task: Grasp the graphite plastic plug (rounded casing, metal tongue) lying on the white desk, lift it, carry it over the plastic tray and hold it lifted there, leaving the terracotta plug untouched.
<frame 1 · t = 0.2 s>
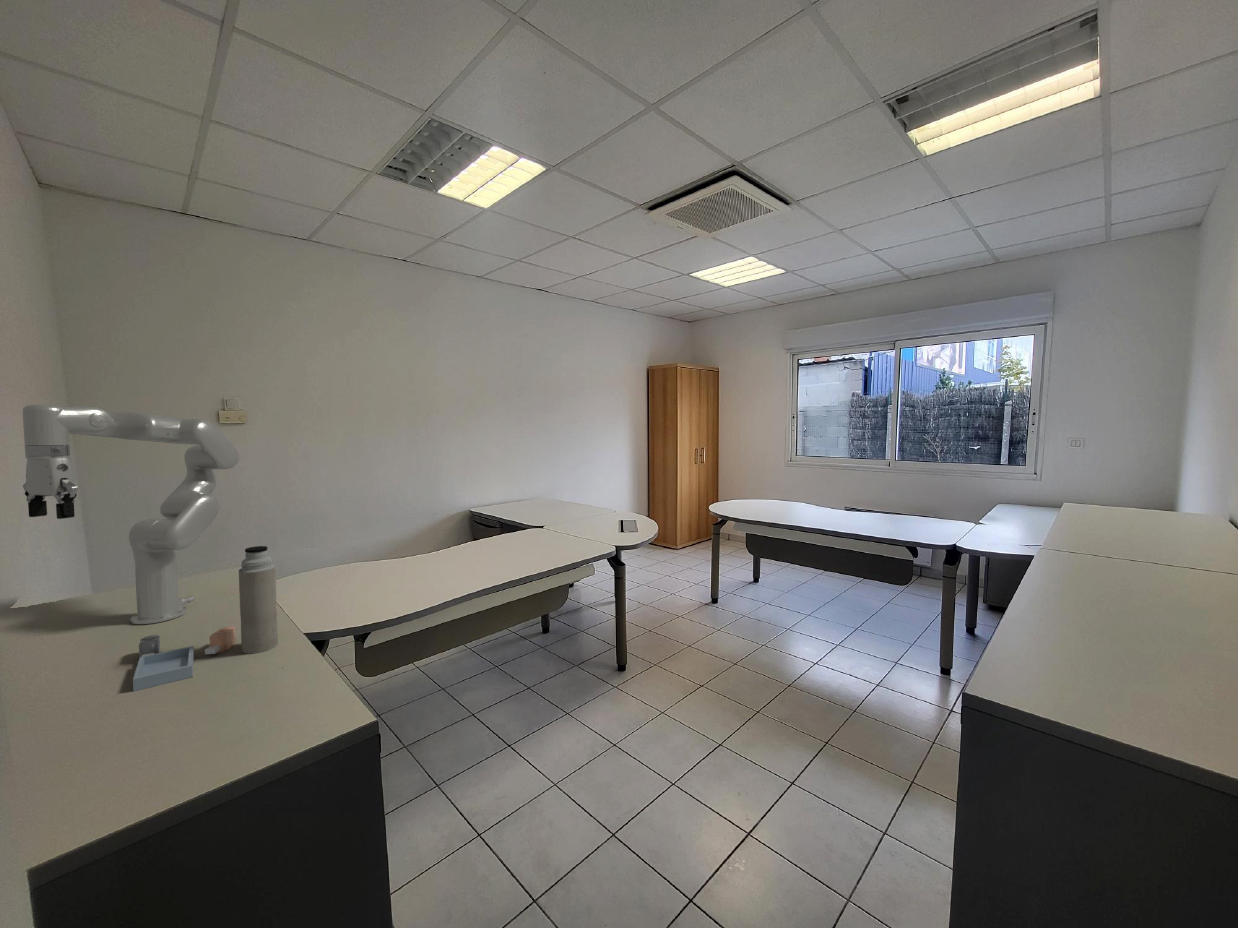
hand: (51, 517, 124), 36 cm above the table, tool pointing down, fingers open, 9 cm apart
graphite plug: (150, 656, 124), on the table
thermos bottle: (260, 647, 130), on the table
tray: (166, 672, 116), on the table
terracotta plug: (223, 647, 130), on the table
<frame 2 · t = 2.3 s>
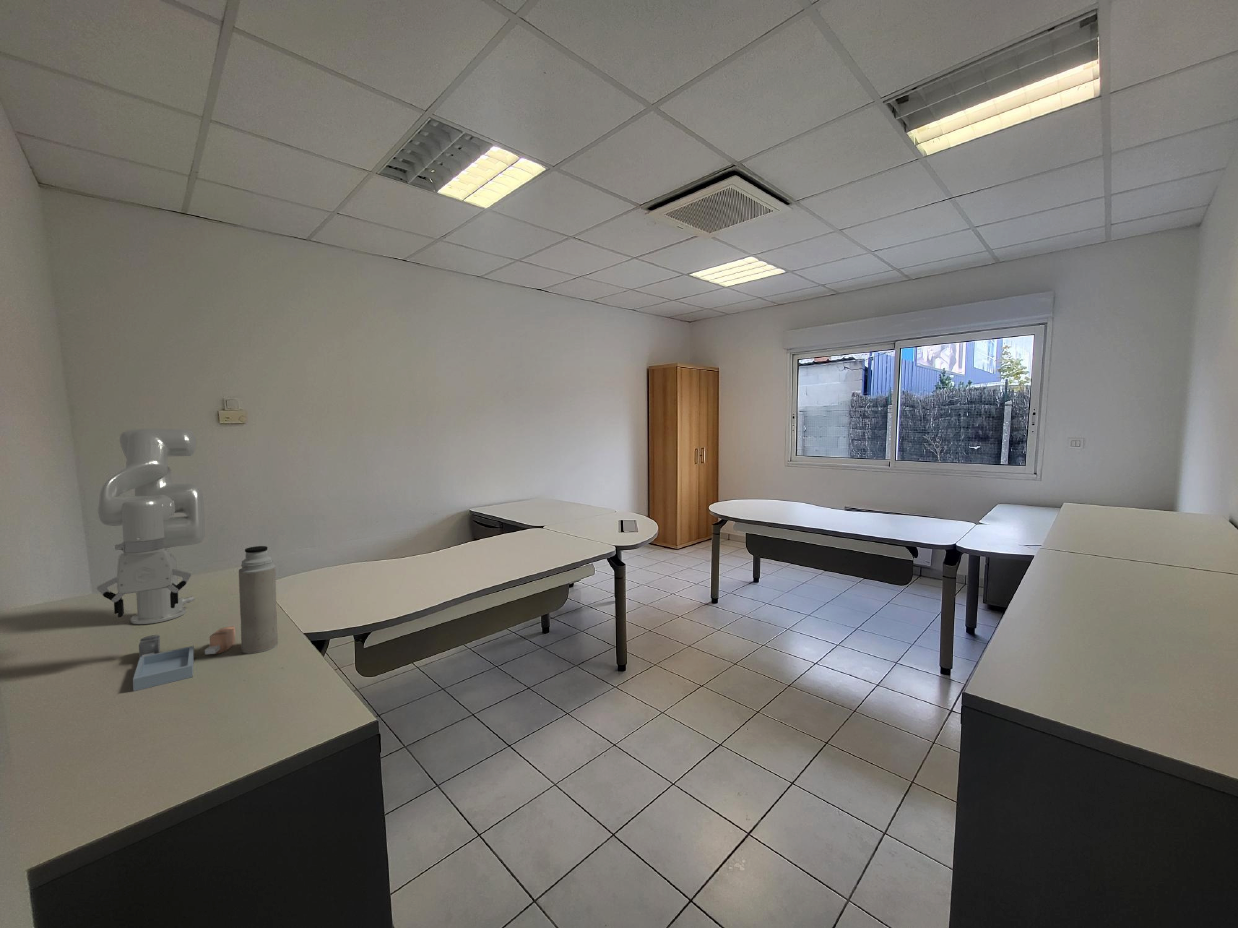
hand: (147, 611, 123), 12 cm above the table, tool pointing down, fingers open, 9 cm apart
nothing on the table moved.
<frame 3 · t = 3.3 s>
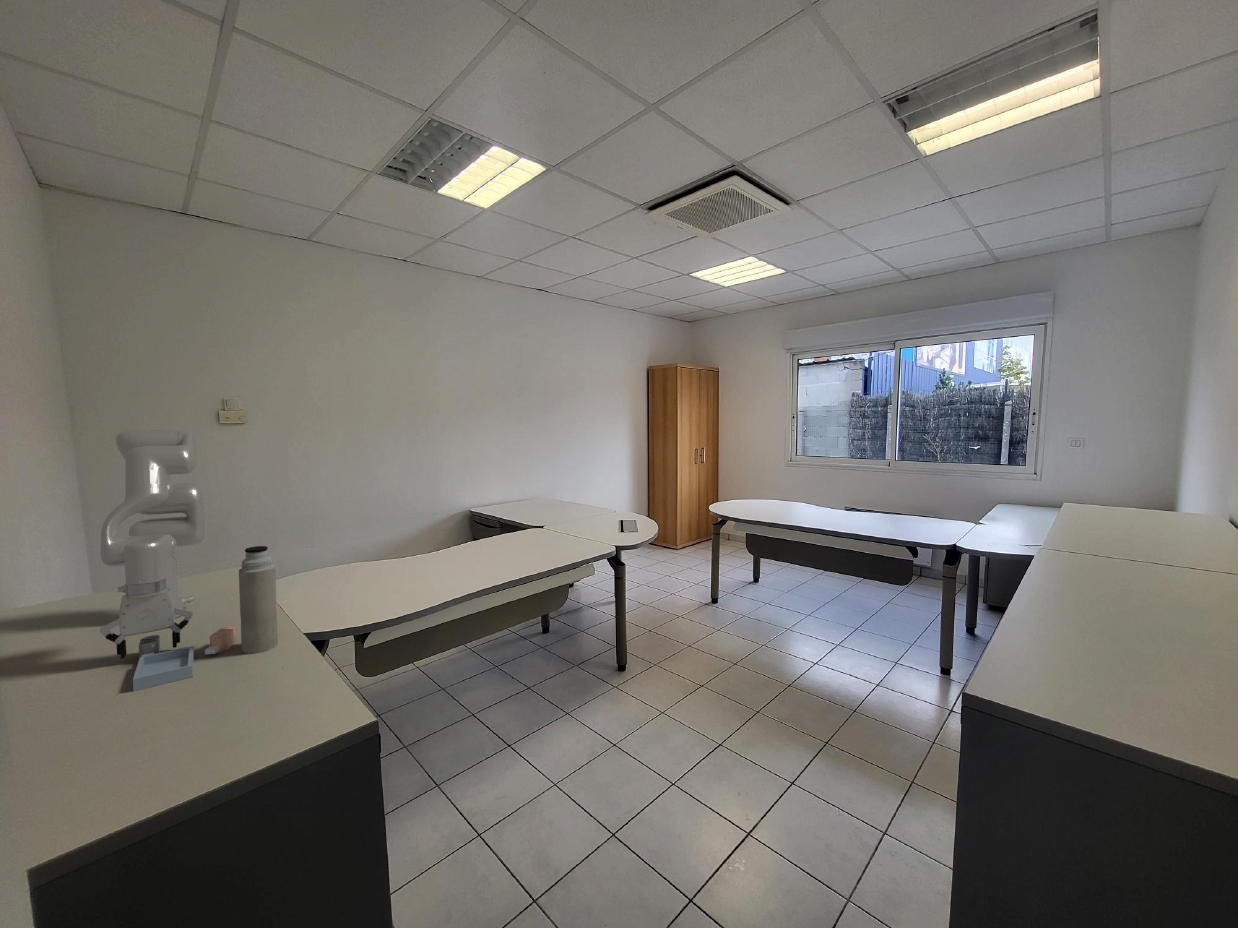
hand: (149, 651, 124), 1 cm above the table, tool pointing down, fingers open, 9 cm apart
nothing on the table moved.
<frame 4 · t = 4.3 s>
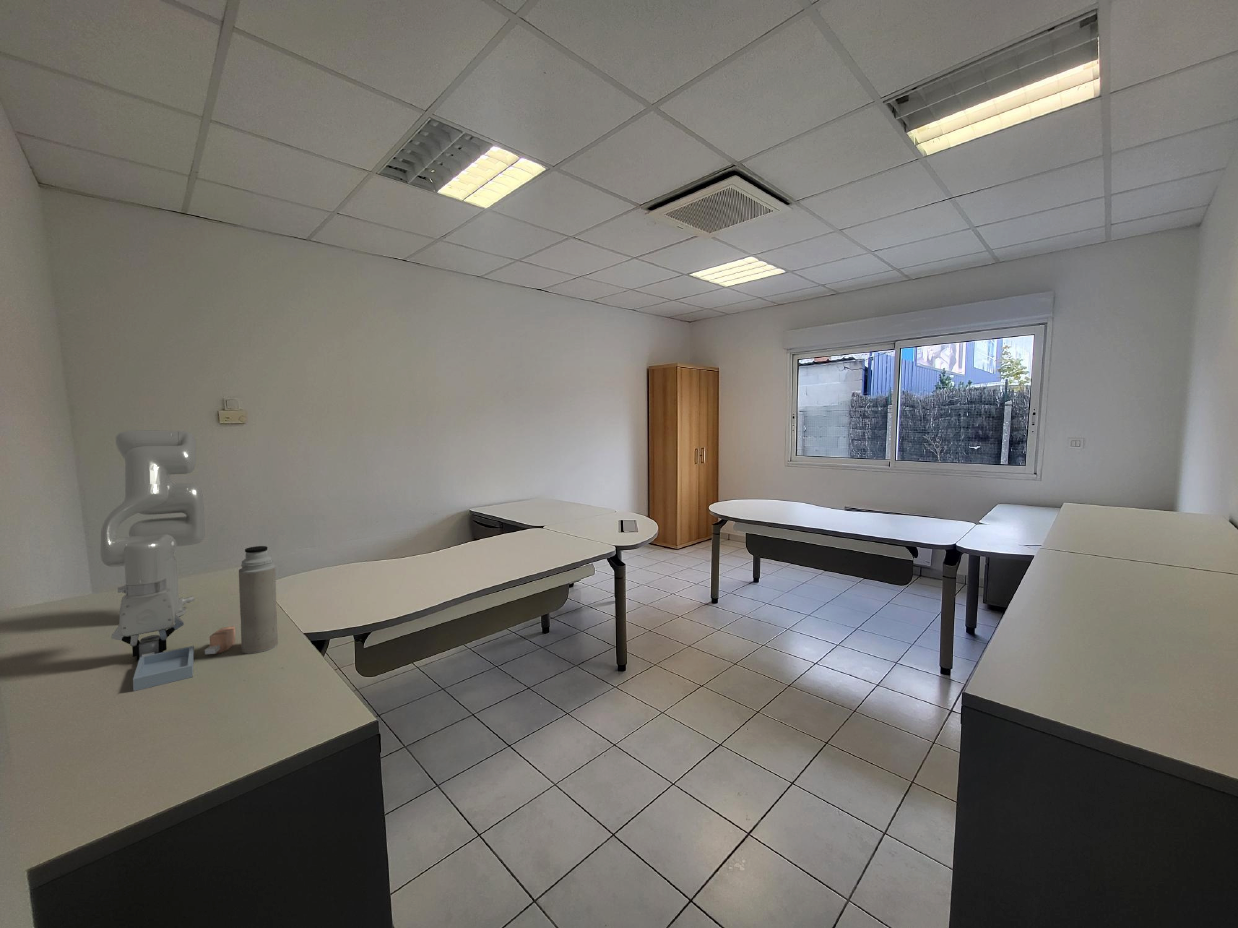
hand: (150, 655, 124), 0 cm above the table, tool pointing down, fingers closed on graphite plug, 3 cm apart
graphite plug: (150, 656, 124), on the table, touching gripper
everything else where it was.
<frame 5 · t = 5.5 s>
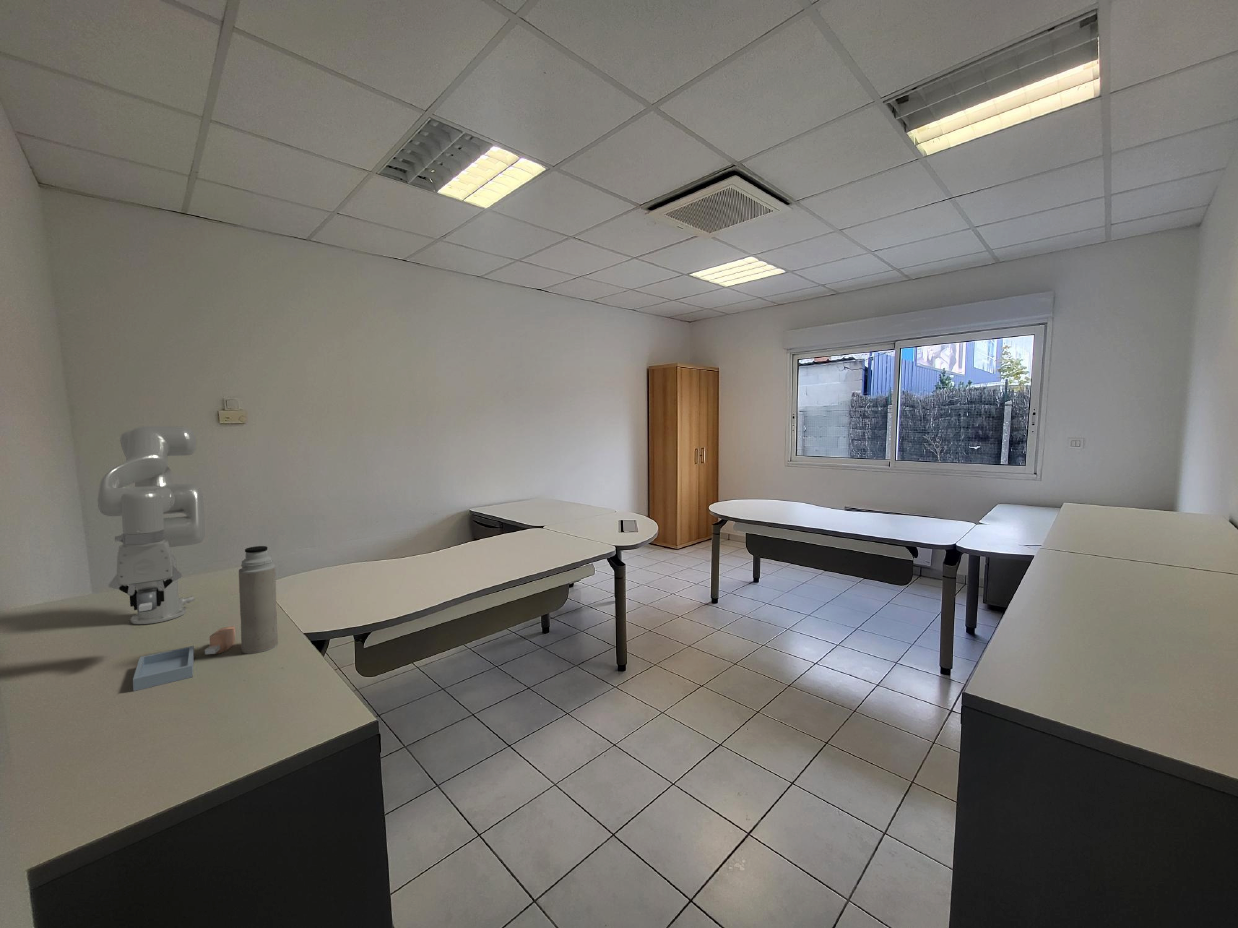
hand: (147, 605, 124), 13 cm above the table, tool pointing down, fingers closed on graphite plug, 3 cm apart
graphite plug: (147, 607, 124), point 13 cm above the table, touching gripper
everything else where it was.
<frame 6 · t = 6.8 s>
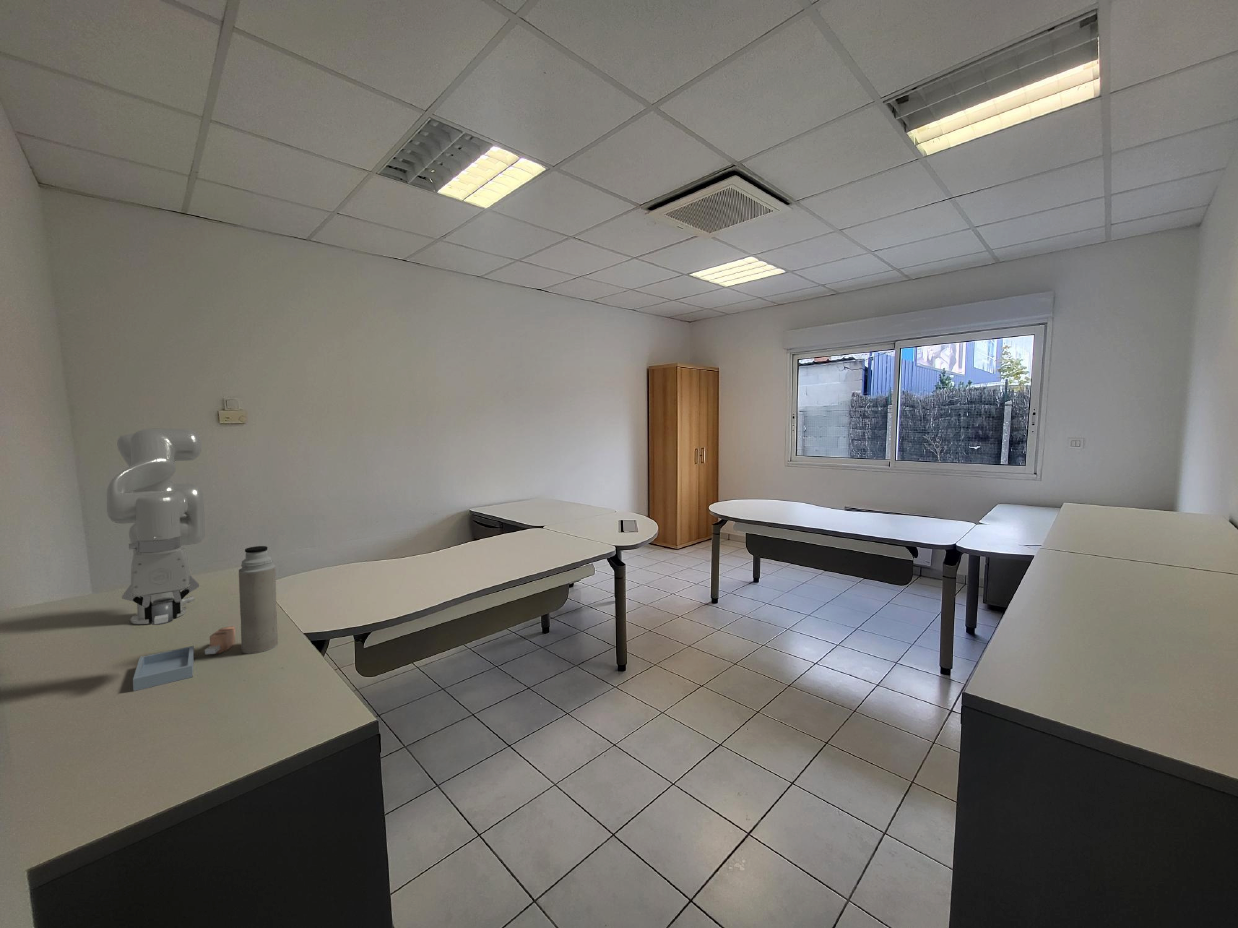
hand: (163, 618, 115), 14 cm above the table, tool pointing down, fingers closed on graphite plug, 3 cm apart
graphite plug: (163, 619, 115), point 13 cm above the table, touching gripper
everything else where it was.
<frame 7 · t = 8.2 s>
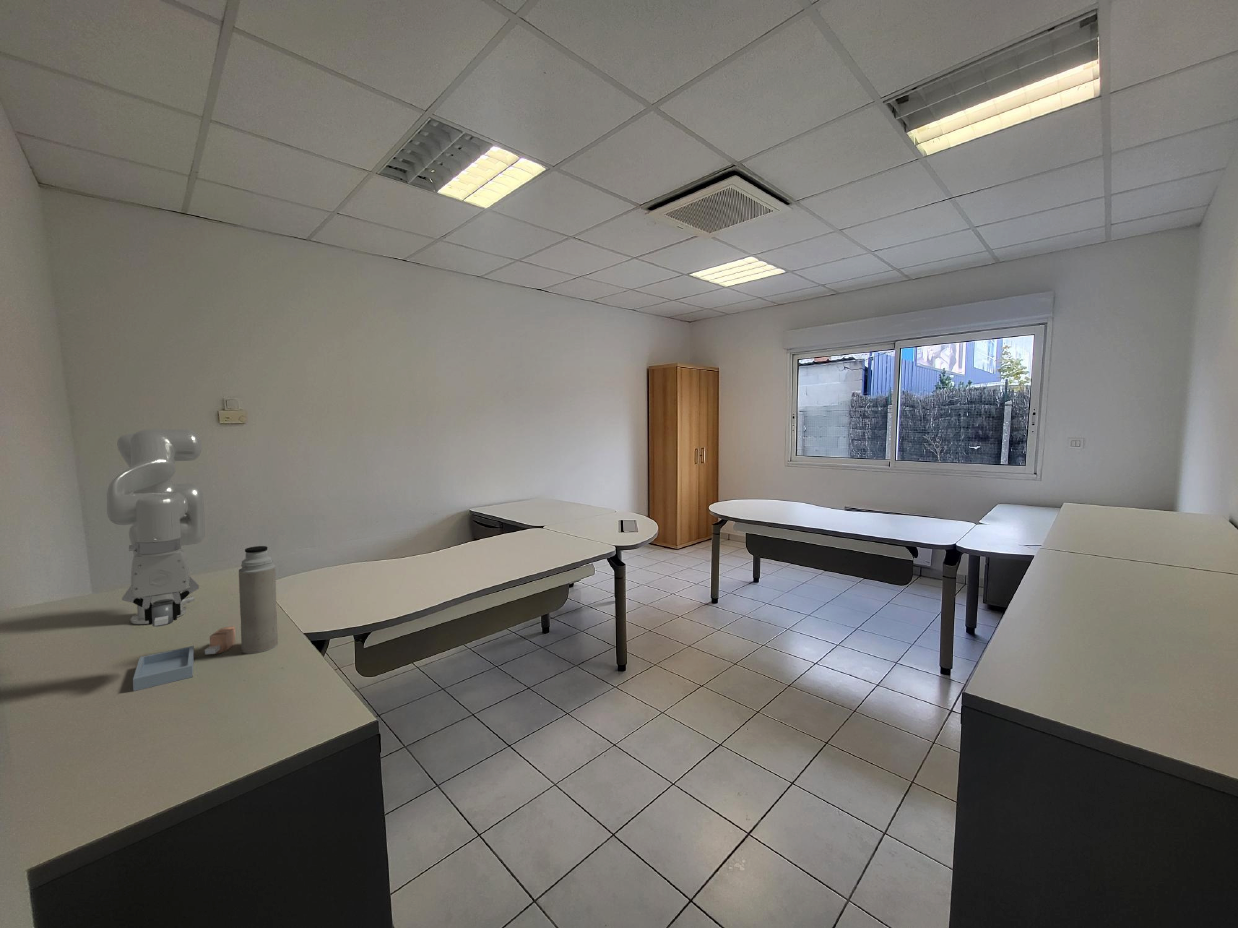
hand: (163, 619, 116), 13 cm above the table, tool pointing down, fingers closed on graphite plug, 3 cm apart
graphite plug: (163, 620, 115), point 13 cm above the table, touching gripper
everything else where it was.
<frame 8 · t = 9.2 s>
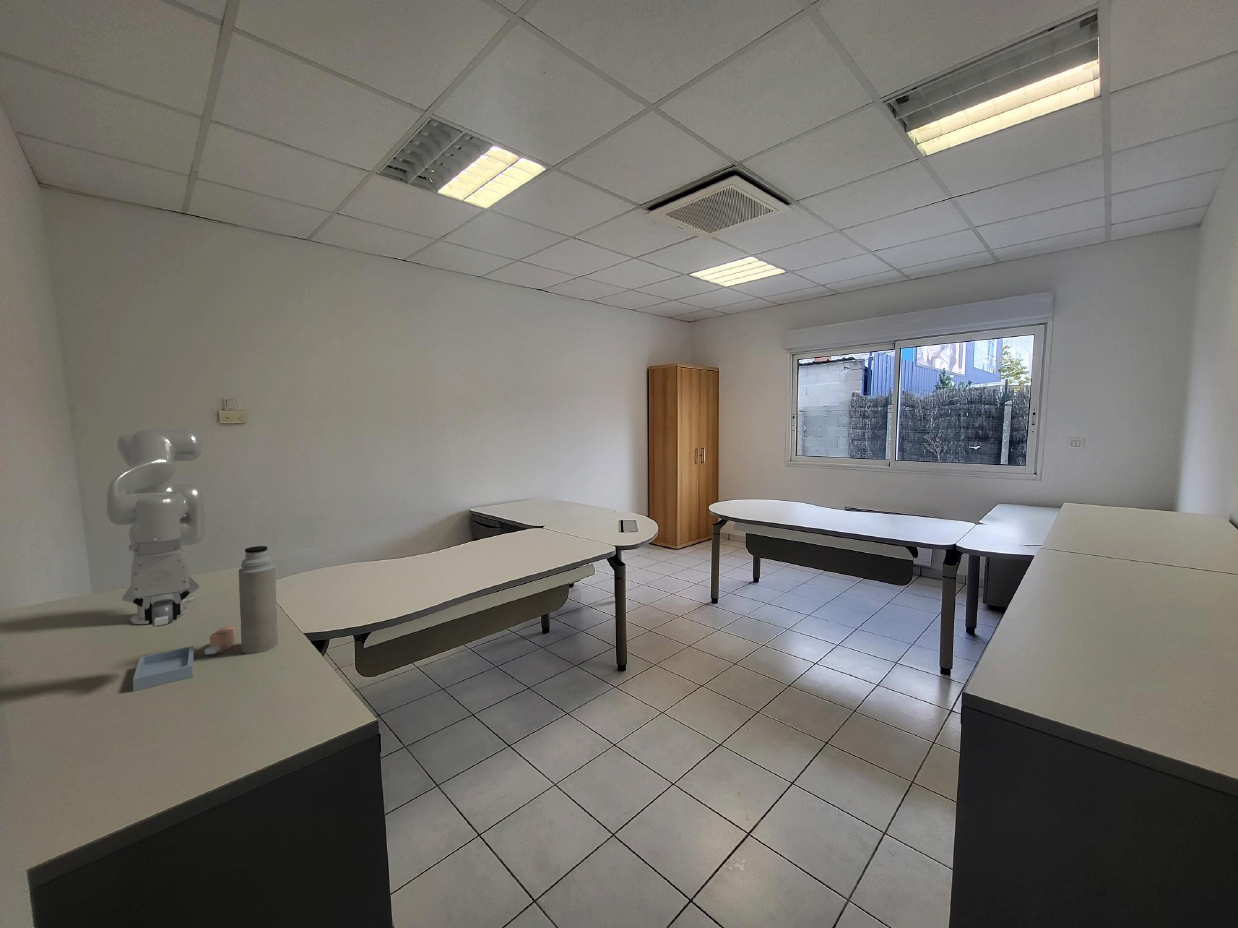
hand: (163, 619, 116), 13 cm above the table, tool pointing down, fingers closed on graphite plug, 3 cm apart
graphite plug: (163, 620, 115), point 13 cm above the table, touching gripper
everything else where it was.
at the end: the gripper is holding graphite plug; graphite plug point 13.0 cm above the table; graphite plug 0.0 cm from the tray (horizontally) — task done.
